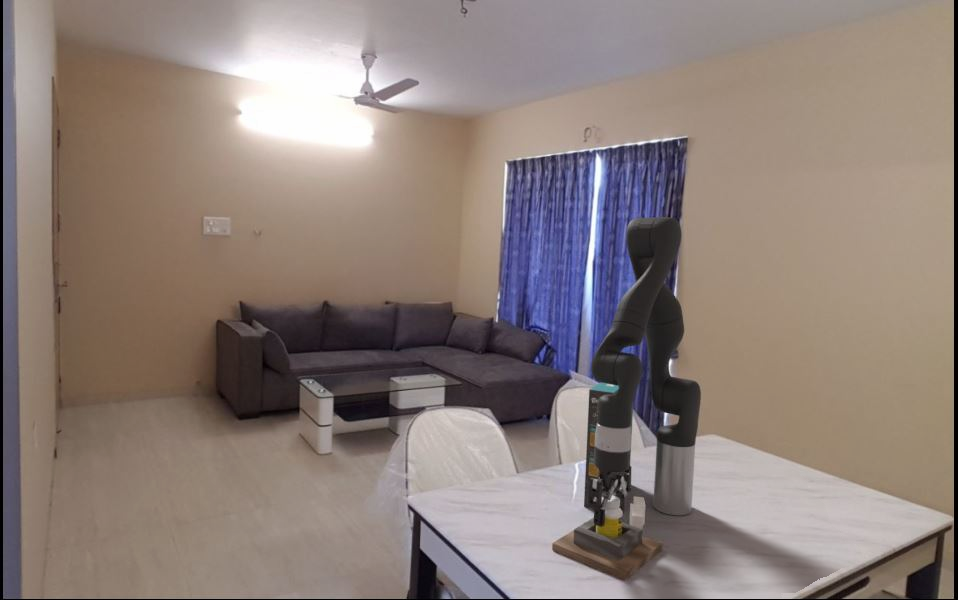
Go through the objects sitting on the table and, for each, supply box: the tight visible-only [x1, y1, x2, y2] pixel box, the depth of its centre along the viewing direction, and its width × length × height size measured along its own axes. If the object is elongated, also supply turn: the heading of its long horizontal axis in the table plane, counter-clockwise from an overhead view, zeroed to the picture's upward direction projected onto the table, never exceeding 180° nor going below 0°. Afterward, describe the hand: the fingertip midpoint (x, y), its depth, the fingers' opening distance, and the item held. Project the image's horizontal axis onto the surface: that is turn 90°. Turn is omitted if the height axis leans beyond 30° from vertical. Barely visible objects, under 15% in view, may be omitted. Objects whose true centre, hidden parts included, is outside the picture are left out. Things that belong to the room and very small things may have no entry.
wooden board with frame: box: [551, 517, 664, 581], centre depth 127 cm, size 17×17×4 cm
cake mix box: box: [583, 382, 634, 510], centre depth 156 cm, size 22×6×30 cm, turn 152°
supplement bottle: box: [596, 495, 624, 540], centre depth 126 cm, size 5×5×10 cm
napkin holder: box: [628, 495, 646, 530], centre depth 139 cm, size 15×11×6 cm
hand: (609, 519), depth 126 cm, fingers open, 8 cm apart
